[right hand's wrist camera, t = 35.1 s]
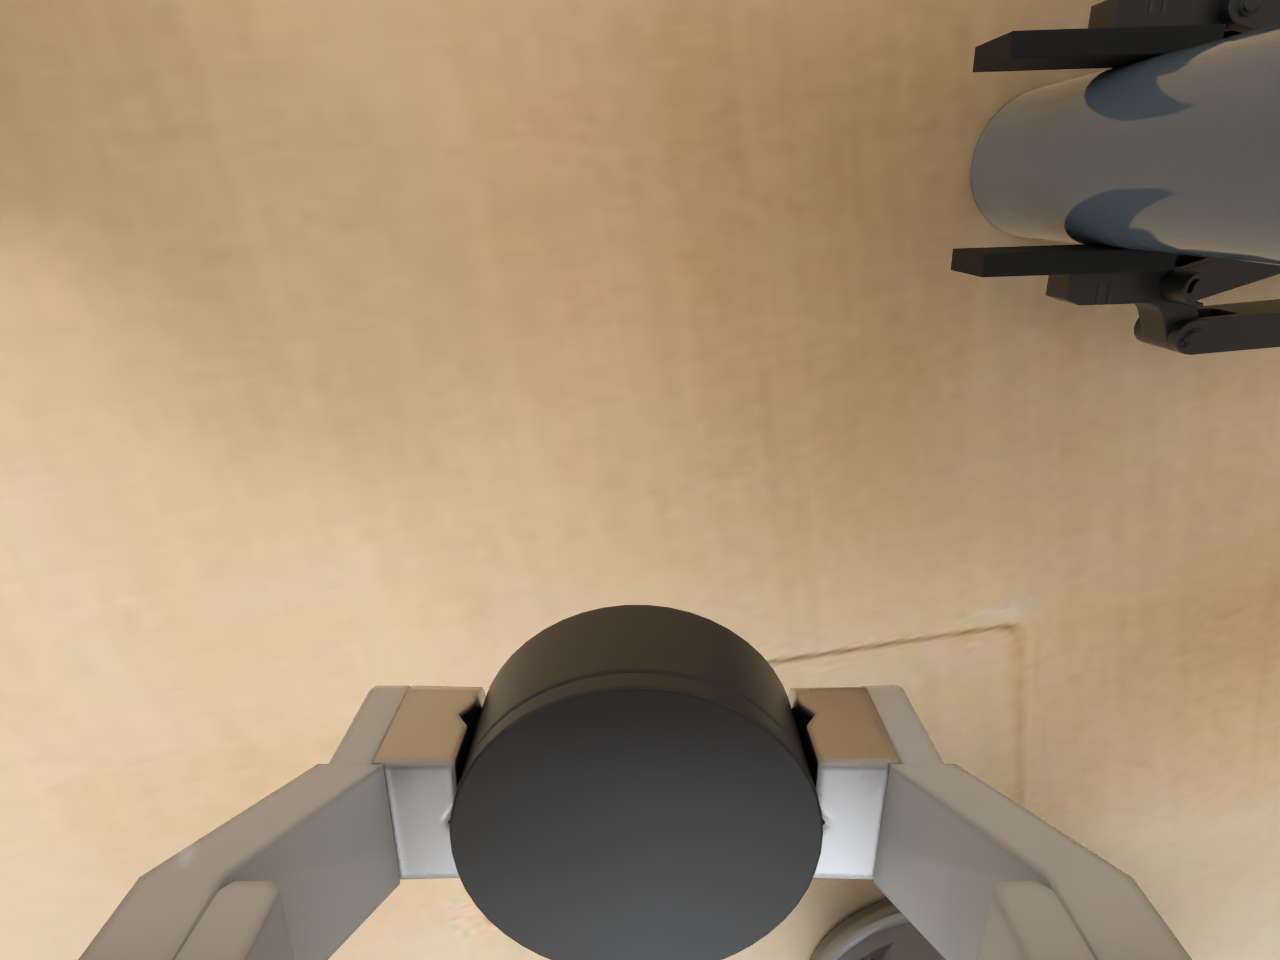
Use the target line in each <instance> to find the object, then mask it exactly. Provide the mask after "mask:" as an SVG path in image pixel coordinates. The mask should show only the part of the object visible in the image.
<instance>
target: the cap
mask: <svg viewBox="0 0 1280 960" xmlns="http://www.w3.org/2000/svg"><path fill="white" fill-rule="evenodd" d="M822 839H823V821H822V811H821V807H820V803H819V799H818V794H817V791H816V788H815V784H814V781H813V778H812V775H811V771H810V768H809V765H808V761H807V758H806V755H805V751H804V748H803V745H802V741H801V738H800V735H799V731H798V728H797V725H796V721H795V718H794V715H793V711H792V708H791V705H790V701H789V699H788V697H787V694H786V692H785V689H784V687H783V685H782V683H781V681H780V680H779V678H778V676H777V675H776V673H775V671H774V670H773V668H772V667H771V666H770V665H769V664H768V662H767V661H766V660H765V659H764V658H763V656H762V655H761V654H760V653H759V652H758V651H756V650H755V649H754V648H753V647H752V646H751V645H750V644H749V643H748V642H746V641H745V640H744V639H742V638H741V637H739V636H738V635H736V634H735V633H733V632H732V631H730V630H729V629H727V628H725V627H723V626H721V625H719V624H717V623H715V622H713V621H712V620H709V619H707V618H704V617H701V616H698V615H696V614H693V613H690V612H686V611H682V610H678V609H673V608H669V607H660V606H651V605H622V606H613V607H605V608H600V609H596V610H592V611H588V612H583V613H580V614H578V615H575V616H572V617H570V618H567V619H564V620H562V621H560V622H558V623H556V624H554V625H552V626H550V627H548V628H546V629H544V630H543V631H541V632H540V633H539V634H537V635H536V636H534V637H533V638H531V639H530V640H529V641H527V642H526V643H525V644H524V645H523V646H521V647H520V648H519V649H518V650H517V651H516V652H515V653H514V654H513V655H512V656H511V657H510V658H509V659H508V661H507V662H506V663H505V664H504V666H503V667H502V668H501V669H500V671H499V672H498V674H497V676H496V677H495V679H494V681H493V682H492V684H491V686H490V688H489V691H488V693H487V696H486V698H485V700H484V703H483V706H482V710H481V713H480V716H479V719H478V723H477V726H476V729H475V732H474V735H473V739H472V742H471V745H470V748H469V752H468V755H467V758H466V761H465V764H464V768H463V771H462V774H461V778H460V781H459V784H458V787H457V790H456V794H455V797H454V802H453V806H452V810H451V816H450V841H451V850H452V855H453V859H454V862H455V866H456V869H457V872H458V874H459V877H460V879H461V881H462V883H463V885H464V887H465V889H466V891H467V892H468V894H469V895H470V897H471V898H472V900H473V901H474V903H475V904H476V906H477V907H478V908H479V909H480V910H481V912H482V913H483V914H484V915H485V916H486V917H487V918H488V919H489V921H491V922H492V923H493V924H494V925H495V926H496V927H498V928H499V929H500V930H501V931H502V932H503V933H504V934H506V935H507V936H509V937H510V938H512V939H513V940H515V941H516V942H517V943H519V944H520V945H522V946H524V947H526V948H528V949H529V950H531V951H533V952H535V953H537V954H539V955H541V956H543V957H546V958H548V959H551V960H722V959H725V958H727V957H729V956H732V955H734V954H736V953H738V952H740V951H742V950H743V949H745V948H747V947H749V946H751V945H753V944H754V943H755V942H757V941H758V940H760V939H761V938H763V937H764V936H766V935H767V934H768V933H770V932H771V931H772V930H773V929H774V928H775V927H776V926H778V925H779V924H780V923H781V922H782V921H783V920H784V919H785V918H786V917H787V916H788V915H789V914H790V912H791V911H792V910H793V909H794V908H795V907H796V906H797V904H798V903H799V901H800V900H801V898H802V897H803V895H804V894H805V892H806V890H807V889H808V887H809V885H810V883H811V880H812V878H813V876H814V874H815V872H816V869H817V865H818V861H819V858H820V854H821V849H822Z"/></svg>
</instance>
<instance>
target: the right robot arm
mask: <svg viewBox="0 0 1280 960" xmlns="http://www.w3.org/2000/svg"><path fill="white" fill-rule="evenodd" d="M485 698H486V695H485V691H484V690H483V688H482V687H446V686H412V687H411V686H376V687H374V688H372V689H371V690H370V691H369V693H368V694H367V696H366V698H365V700H364V702H363V703H362V705H361V707H360V709H359V711H358V712H357V714H356V716H355V718H354V720H353V721H352V723H351V725H350V727H349V728H348V730H347V732H346V734H345V736H344V737H343V739H342V741H341V743H340V745H339V746H338V748H337V750H336V752H335V754H334V755H333V757H332V759H331V761H330V763H329V764H317V765H316V766H314V767H313V768H311V769H309V770H308V771H306V772H305V773H303V774H302V775H300V776H298V777H297V778H295V779H294V780H292V781H291V782H289V783H287V784H286V785H284V786H283V787H281V788H280V789H278V790H276V791H275V792H273V793H272V794H270V795H269V796H267V797H265V798H264V799H262V800H261V801H259V802H257V803H256V804H254V805H253V806H251V807H250V808H248V809H246V810H245V811H243V812H242V813H240V814H239V815H237V816H235V817H234V818H232V819H231V820H229V821H228V822H226V823H224V824H223V825H221V826H220V827H218V828H217V829H215V830H213V831H212V832H210V833H209V834H207V835H206V836H204V837H202V838H201V839H199V840H198V841H196V842H195V843H193V844H191V845H190V846H188V847H187V848H185V849H184V850H182V851H180V852H179V853H177V854H176V855H174V856H172V857H171V858H169V859H168V860H166V861H165V862H163V863H161V864H160V865H158V866H157V867H155V868H154V869H152V870H150V871H149V872H147V873H146V874H144V875H143V876H141V877H140V878H139V879H138V880H137V882H136V883H135V884H134V886H133V887H132V888H131V890H130V891H129V892H128V894H127V895H126V896H125V898H124V899H123V900H122V902H121V903H120V904H119V906H118V907H117V908H116V910H115V911H114V913H113V914H112V915H111V917H110V918H109V919H108V921H107V922H106V923H105V925H104V926H103V927H102V929H101V930H100V931H99V933H98V934H97V935H96V937H95V938H94V939H93V941H92V942H91V943H90V945H89V946H88V947H87V949H86V950H85V951H84V953H83V954H82V956H81V957H80V958H79V960H328V959H329V958H330V957H331V955H332V954H333V953H334V952H335V951H336V950H337V949H338V948H339V947H340V946H341V945H342V944H343V943H344V942H345V941H346V940H347V939H348V938H349V937H350V936H351V934H352V933H353V932H354V931H355V930H356V929H357V928H358V927H359V926H360V925H361V924H362V923H363V922H364V921H365V920H366V919H367V918H368V917H369V916H370V915H371V913H372V912H373V911H374V910H375V909H376V908H377V907H378V906H379V905H380V904H381V903H382V902H383V901H384V900H385V899H386V898H387V897H388V896H389V895H390V894H391V893H392V891H393V890H394V889H395V888H396V887H397V886H398V885H399V884H400V879H433V878H460V877H459V874H458V872H457V869H456V866H455V862H454V859H453V855H452V850H451V841H450V816H451V810H452V806H453V802H454V797H455V794H456V790H457V787H458V784H459V781H460V778H461V774H462V771H463V768H464V764H465V761H466V758H467V755H468V752H469V748H470V745H471V742H472V739H473V735H474V732H475V729H476V726H477V723H478V719H479V716H480V713H481V710H482V706H483V703H484V700H485ZM788 699H789V701H790V705H791V708H792V711H793V715H794V718H795V721H796V725H797V728H798V731H799V735H800V738H801V741H802V745H803V748H804V751H805V755H806V758H807V761H808V765H809V768H810V771H811V775H812V778H813V781H814V784H815V788H816V791H817V794H818V799H819V803H820V807H821V811H822V821H823V839H822V849H821V854H820V858H819V861H818V865H817V869H816V872H815V874H814V876H813V878H839V879H874V880H873V883H874V884H875V885H876V886H877V887H878V888H879V889H880V890H881V892H882V893H883V894H884V895H885V896H886V897H887V898H888V899H889V900H890V901H891V902H892V903H893V904H894V905H895V906H896V907H897V909H898V910H899V911H900V912H901V913H902V914H903V915H904V916H905V917H906V918H907V919H908V920H909V921H910V922H911V923H912V924H913V926H914V927H915V928H916V929H917V930H918V931H919V932H920V933H921V934H922V935H923V936H924V937H925V938H926V939H927V940H928V942H929V943H930V944H931V945H932V946H933V947H934V948H935V949H936V950H937V951H938V952H939V953H940V954H941V955H942V956H943V957H944V959H945V960H1192V959H1191V958H1190V956H1189V955H1188V953H1187V952H1186V951H1185V949H1184V948H1183V947H1182V945H1181V944H1180V942H1179V941H1178V940H1177V938H1176V937H1175V936H1174V934H1173V933H1172V931H1171V930H1170V929H1169V927H1168V926H1167V925H1166V923H1165V922H1164V920H1163V919H1162V918H1161V916H1160V915H1159V914H1158V912H1157V911H1156V909H1155V908H1154V907H1153V905H1152V904H1151V903H1150V901H1149V900H1148V898H1147V897H1146V896H1145V894H1144V893H1143V891H1142V890H1141V889H1140V887H1139V886H1138V885H1137V883H1136V882H1135V880H1134V879H1133V878H1131V877H1130V876H1128V875H1127V874H1125V873H1124V872H1122V871H1121V870H1119V869H1117V868H1116V867H1114V866H1113V865H1111V864H1110V863H1108V862H1107V861H1105V860H1103V859H1102V858H1100V857H1099V856H1097V855H1096V854H1094V853H1093V852H1091V851H1089V850H1088V849H1086V848H1085V847H1083V846H1082V845H1080V844H1079V843H1077V842H1075V841H1074V840H1072V839H1071V838H1069V837H1068V836H1066V835H1065V834H1063V833H1061V832H1060V831H1058V830H1057V829H1055V828H1054V827H1052V826H1051V825H1049V824H1047V823H1046V822H1044V821H1043V820H1041V819H1040V818H1038V817H1037V816H1035V815H1033V814H1032V813H1030V812H1029V811H1027V810H1026V809H1024V808H1023V807H1021V806H1019V805H1018V804H1016V803H1015V802H1013V801H1012V800H1010V799H1009V798H1007V797H1005V796H1004V795H1002V794H1001V793H999V792H998V791H996V790H995V789H993V788H991V787H990V786H988V785H987V784H985V783H984V782H982V781H981V780H979V779H977V778H976V777H974V776H973V775H971V774H970V773H968V772H967V771H965V770H964V769H962V768H960V767H959V766H957V765H956V764H944V762H943V761H942V759H941V757H940V755H939V753H938V752H937V750H936V748H935V746H934V744H933V742H932V741H931V739H930V737H929V735H928V733H927V732H926V730H925V728H924V726H923V724H922V723H921V721H920V719H919V717H918V715H917V713H916V712H915V710H914V708H913V706H912V704H911V703H910V701H909V699H908V697H907V695H906V694H905V692H904V690H903V689H902V688H901V687H899V686H898V685H888V686H862V687H845V688H790V692H789V696H788Z"/></svg>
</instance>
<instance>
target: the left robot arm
mask: <svg viewBox="0 0 1280 960" xmlns="http://www.w3.org/2000/svg"><path fill="white" fill-rule="evenodd" d="M1279 23H1280V0H1105V1H1103V2H1101V3H1098V4H1096V5H1094V6H1092V7H1091V13H1090V19H1089V26H1088V29H1060V30H1030V31H1012V32H1010V33H1007V34H1005V35H1003V36H1001V37H998V38H996V39H994V40H991V41H989V42H987V43H984V44H982V45H980V46H977V47H976V48H975V57H974V66H973V72H994V71H1024V70H1054V69H1084V68H1114V67H1118V66H1122V65H1125V64H1129V63H1133V62H1137V61H1140V60H1144V59H1148V58H1152V57H1155V56H1159V55H1163V54H1167V53H1170V52H1174V51H1178V50H1182V49H1185V48H1189V47H1193V46H1197V45H1200V44H1204V43H1208V42H1212V41H1215V40H1219V39H1223V38H1227V37H1230V36H1234V35H1238V34H1242V33H1245V32H1249V31H1253V30H1257V29H1260V28H1264V27H1268V26H1272V25H1275V24H1279ZM951 270H954V271H958V272H963V273H967V274H971V275H975V276H980V277H1000V276H1030V275H1049V278H1048V284H1047V291H1046V295H1047V296H1050V297H1052V298H1055V299H1057V300H1060V301H1064V302H1068V303H1072V304H1076V305H1095V304H1096V305H1101V304H1132V303H1135V305H1136V306H1137V308H1138V312H1139V319H1138V320H1137V321H1136V324H1135V327H1134V334H1135V336H1136V338H1137V339H1138V340H1140V341H1141V342H1145V343H1148V344H1152V345H1155V346H1159V347H1162V348H1166V349H1169V350H1172V351H1176V352H1179V353H1183V354H1190V355H1191V354H1203V353H1214V352H1225V351H1236V350H1248V349H1259V348H1270V347H1280V299H1277V300H1266V301H1255V302H1244V303H1233V304H1222V305H1211V306H1203V303H1200V302H1197V300H1199V299H1203V298H1206V297H1209V296H1212V295H1215V294H1218V293H1221V292H1224V291H1227V290H1230V289H1234V288H1237V287H1240V286H1243V285H1246V284H1249V283H1252V282H1255V281H1258V280H1261V279H1265V278H1268V277H1271V276H1274V275H1277V274H1280V265H1274V264H1264V263H1255V262H1246V261H1237V260H1227V259H1218V258H1209V257H1200V256H1190V255H1181V254H1172V253H1163V252H1153V251H1144V250H1135V249H1125V248H1116V247H1107V246H1098V245H1088V244H1083V245H1053V246H1023V247H993V248H963V249H953V255H952V264H951ZM810 960H945V959H944V957H943V956H942V955H941V954H940V953H939V952H938V951H937V950H936V949H935V948H934V947H933V946H932V945H931V944H930V943H929V942H928V940H927V939H926V938H925V937H924V936H923V935H922V934H921V933H920V932H919V931H918V930H917V929H916V928H915V927H914V926H913V924H912V923H911V922H910V921H909V920H908V919H907V918H906V917H905V916H904V915H903V914H902V913H901V912H900V911H899V910H898V909H897V907H896V906H895V905H894V904H893V903H892V902H891V901H890V900H889V899H886V900H883V901H880V902H878V903H875V904H873V905H871V906H868V907H866V908H864V909H862V910H860V911H859V912H857V913H855V914H853V915H852V916H850V917H849V918H847V919H846V920H844V921H843V922H842V923H840V924H839V925H838V926H836V927H835V928H834V929H833V930H832V931H831V932H830V933H829V934H828V935H827V936H826V937H825V938H824V939H823V940H822V942H821V943H820V944H819V946H818V947H817V949H816V950H815V952H814V954H813V955H812V957H811V959H810Z"/></svg>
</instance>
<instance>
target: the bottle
mask: <svg viewBox="0 0 1280 960" xmlns="http://www.w3.org/2000/svg"><path fill="white" fill-rule="evenodd" d="M971 184H972V191H973V195H974V198H975V201H976V203H977V205H978V208H979V209H980V211H981V213H982V214H983V216H984V217H985V218H986V219H987V220H988V221H989V222H990V223H991V224H992V225H993V226H994V227H996V228H997V229H999V230H1001V231H1002V232H1004V233H1007V234H1009V235H1013V236H1017V237H1023V238H1033V239H1042V240H1051V241H1061V242H1070V243H1079V244H1088V245H1098V246H1107V247H1116V248H1125V249H1135V250H1144V251H1153V252H1163V253H1172V254H1181V255H1190V256H1200V257H1209V258H1218V259H1227V260H1237V261H1246V262H1255V263H1264V264H1274V265H1280V23H1279V24H1275V25H1272V26H1268V27H1264V28H1260V29H1257V30H1253V31H1249V32H1245V33H1242V34H1238V35H1234V36H1230V37H1227V38H1223V39H1219V40H1215V41H1212V42H1208V43H1204V44H1200V45H1197V46H1193V47H1189V48H1185V49H1182V50H1178V51H1174V52H1170V53H1167V54H1163V55H1159V56H1155V57H1152V58H1148V59H1144V60H1140V61H1137V62H1133V63H1129V64H1125V65H1122V66H1118V67H1114V68H1110V69H1107V70H1103V71H1099V72H1095V73H1092V74H1088V75H1084V76H1080V77H1077V78H1073V79H1069V80H1065V81H1062V82H1058V83H1054V84H1050V85H1047V86H1043V87H1039V88H1036V89H1033V90H1030V91H1027V92H1025V93H1023V94H1021V95H1019V96H1017V97H1016V98H1014V99H1013V100H1011V101H1010V102H1009V103H1007V104H1006V105H1005V106H1004V107H1002V108H1001V109H1000V110H999V111H998V112H997V114H996V115H995V116H994V117H993V118H992V119H991V121H990V122H989V123H988V125H987V126H986V128H985V130H984V131H983V133H982V135H981V137H980V139H979V141H978V143H977V146H976V149H975V152H974V156H973V161H972V168H971Z"/></svg>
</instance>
